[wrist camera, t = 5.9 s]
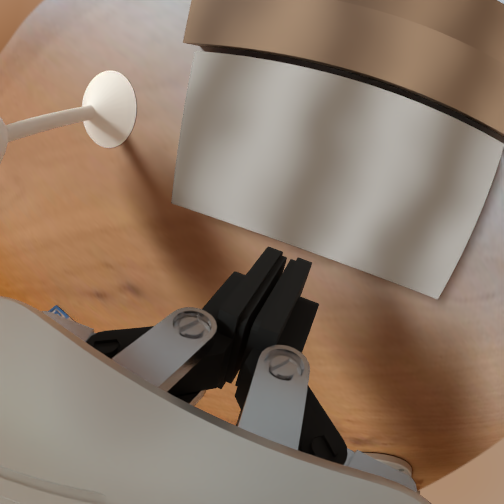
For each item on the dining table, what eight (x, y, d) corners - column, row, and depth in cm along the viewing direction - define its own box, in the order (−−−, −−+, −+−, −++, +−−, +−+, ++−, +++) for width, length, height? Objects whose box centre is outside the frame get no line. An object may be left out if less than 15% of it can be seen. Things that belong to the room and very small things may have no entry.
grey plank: (491, 140, 13) (504, 144, 12) (433, 283, 18) (437, 299, 17) (210, 54, 17) (194, 50, 16) (186, 195, 22) (171, 203, 20)
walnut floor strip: (528, 32, 9) (541, 28, 7) (506, 138, 13) (519, 143, 11) (221, -49, 13) (207, -59, 12) (199, 45, 17) (183, 42, 16)
